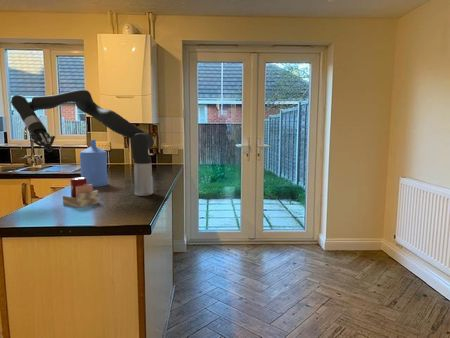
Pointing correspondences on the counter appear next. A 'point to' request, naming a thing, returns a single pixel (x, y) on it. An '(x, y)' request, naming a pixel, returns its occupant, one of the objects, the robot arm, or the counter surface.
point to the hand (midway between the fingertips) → (50, 150)
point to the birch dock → (82, 199)
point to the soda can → (77, 184)
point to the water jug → (94, 165)
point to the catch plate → (84, 189)
